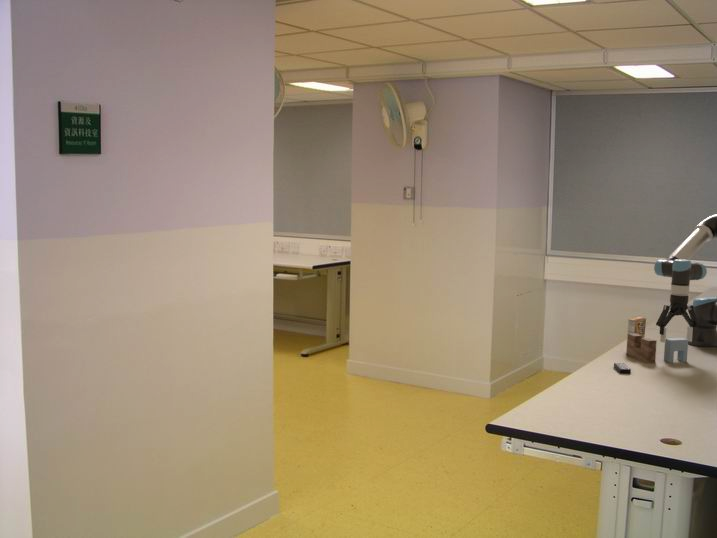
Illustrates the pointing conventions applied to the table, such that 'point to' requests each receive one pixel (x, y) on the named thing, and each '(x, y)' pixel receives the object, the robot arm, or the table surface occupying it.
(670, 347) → the grey slotted block
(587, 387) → the table surface
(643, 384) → the table surface
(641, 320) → the candy box
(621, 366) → the multiport hub
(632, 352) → the walnut notched block
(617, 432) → the table surface
